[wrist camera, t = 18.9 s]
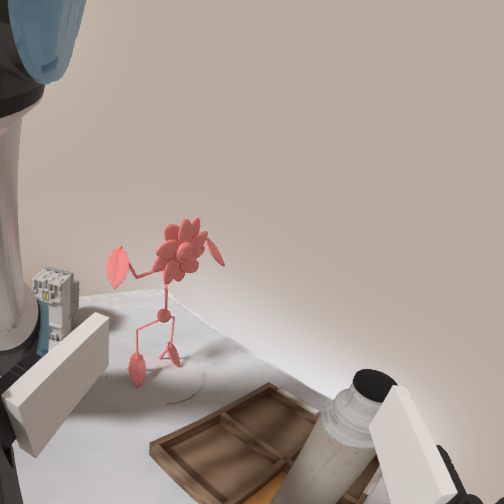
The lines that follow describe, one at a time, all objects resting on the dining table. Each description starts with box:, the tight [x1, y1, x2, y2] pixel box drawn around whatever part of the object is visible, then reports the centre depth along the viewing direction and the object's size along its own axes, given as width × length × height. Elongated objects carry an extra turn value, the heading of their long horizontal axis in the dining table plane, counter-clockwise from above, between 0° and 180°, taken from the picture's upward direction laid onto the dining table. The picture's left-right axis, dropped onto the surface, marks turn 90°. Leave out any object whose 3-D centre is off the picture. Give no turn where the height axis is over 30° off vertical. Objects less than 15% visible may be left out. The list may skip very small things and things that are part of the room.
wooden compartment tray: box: [149, 383, 382, 504], centre depth 44 cm, size 31×31×4 cm
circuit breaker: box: [32, 267, 79, 343], centre depth 65 cm, size 8×14×15 cm, turn 9°
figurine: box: [106, 218, 225, 404], centre depth 57 cm, size 15×26×35 cm, turn 144°
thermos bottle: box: [269, 369, 398, 504], centre depth 30 cm, size 8×8×28 cm
